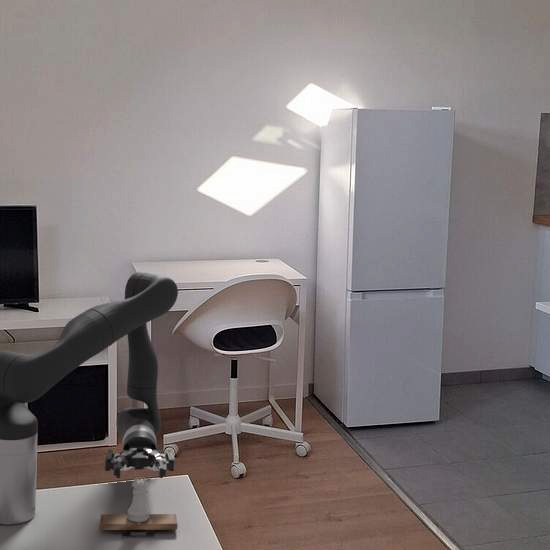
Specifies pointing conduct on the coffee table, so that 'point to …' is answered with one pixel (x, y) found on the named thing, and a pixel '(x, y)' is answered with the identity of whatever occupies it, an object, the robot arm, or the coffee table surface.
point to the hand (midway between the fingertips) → (140, 473)
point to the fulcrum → (138, 533)
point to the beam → (125, 524)
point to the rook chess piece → (139, 502)
